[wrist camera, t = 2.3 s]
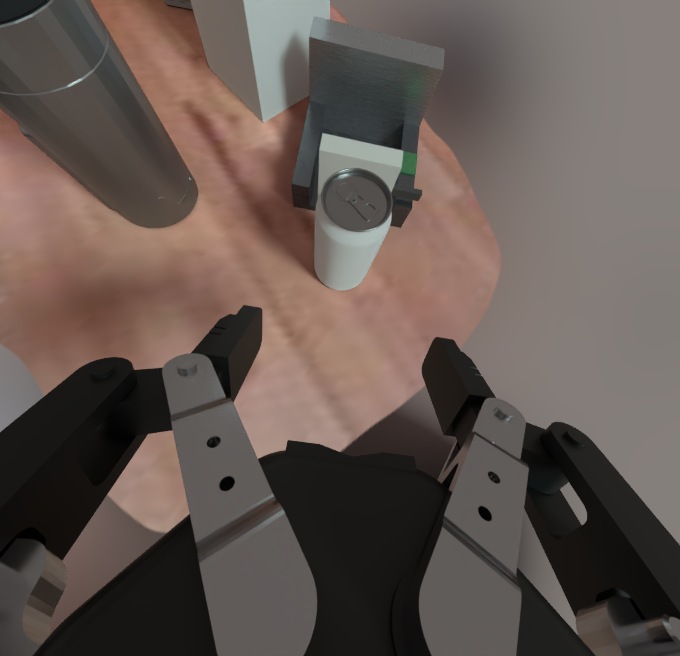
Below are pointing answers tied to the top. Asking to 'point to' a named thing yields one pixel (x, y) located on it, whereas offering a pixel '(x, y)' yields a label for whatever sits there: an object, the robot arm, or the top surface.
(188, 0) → the coffee box
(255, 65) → the milk
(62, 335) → the top surface
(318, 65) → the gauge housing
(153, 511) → the top surface
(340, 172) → the can
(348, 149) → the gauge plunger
